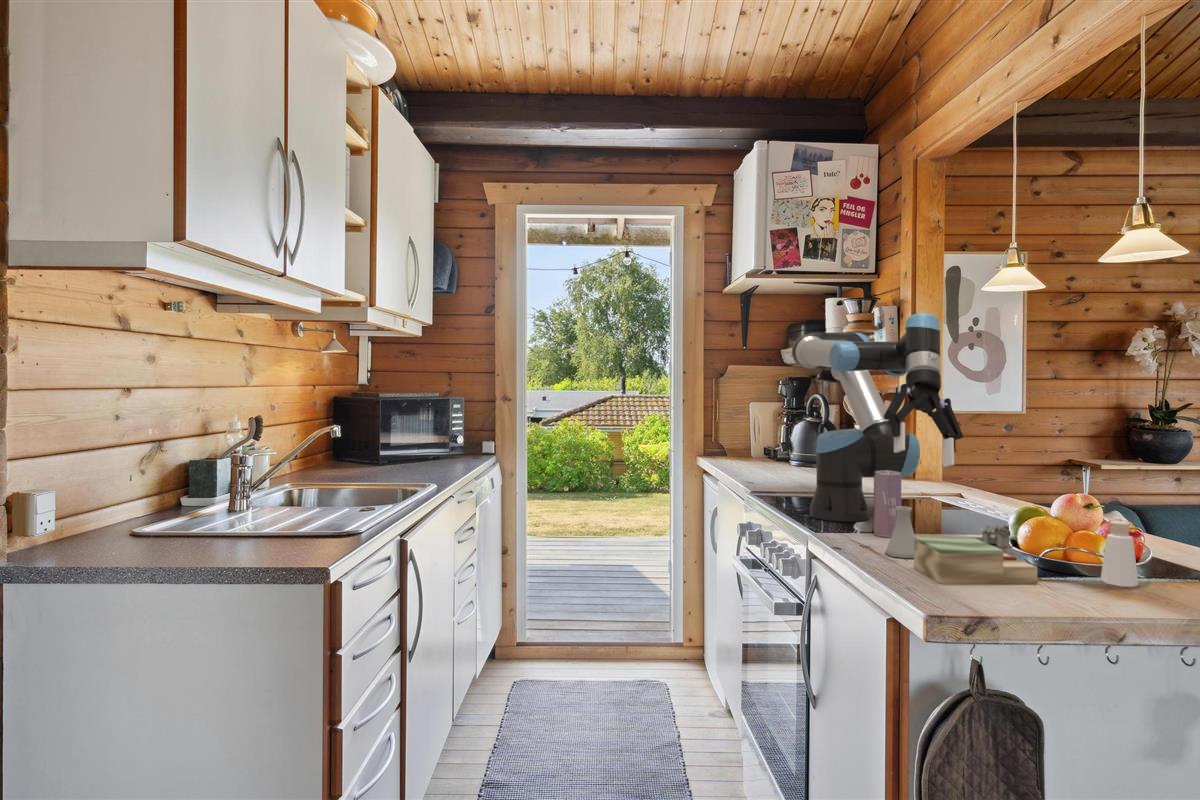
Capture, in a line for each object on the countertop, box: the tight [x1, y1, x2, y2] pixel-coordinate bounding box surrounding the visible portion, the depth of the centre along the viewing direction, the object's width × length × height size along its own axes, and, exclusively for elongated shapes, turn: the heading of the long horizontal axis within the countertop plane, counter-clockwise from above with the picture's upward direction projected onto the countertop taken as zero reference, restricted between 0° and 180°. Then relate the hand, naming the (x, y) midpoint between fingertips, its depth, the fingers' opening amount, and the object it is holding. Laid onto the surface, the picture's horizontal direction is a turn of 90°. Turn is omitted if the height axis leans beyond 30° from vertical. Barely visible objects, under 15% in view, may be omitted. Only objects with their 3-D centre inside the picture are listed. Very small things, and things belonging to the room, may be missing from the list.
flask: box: [884, 505, 916, 559], centre depth 145 cm, size 7×7×10 cm
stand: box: [913, 536, 1038, 585], centre depth 129 cm, size 11×17×6 cm, turn 89°
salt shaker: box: [1100, 519, 1139, 588], centre depth 124 cm, size 5×5×11 cm
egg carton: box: [978, 523, 1011, 548], centre depth 156 cm, size 11×8×4 cm
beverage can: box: [873, 471, 902, 539], centre depth 163 cm, size 6×6×15 cm
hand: (924, 458), depth 157 cm, fingers open, 13 cm apart
